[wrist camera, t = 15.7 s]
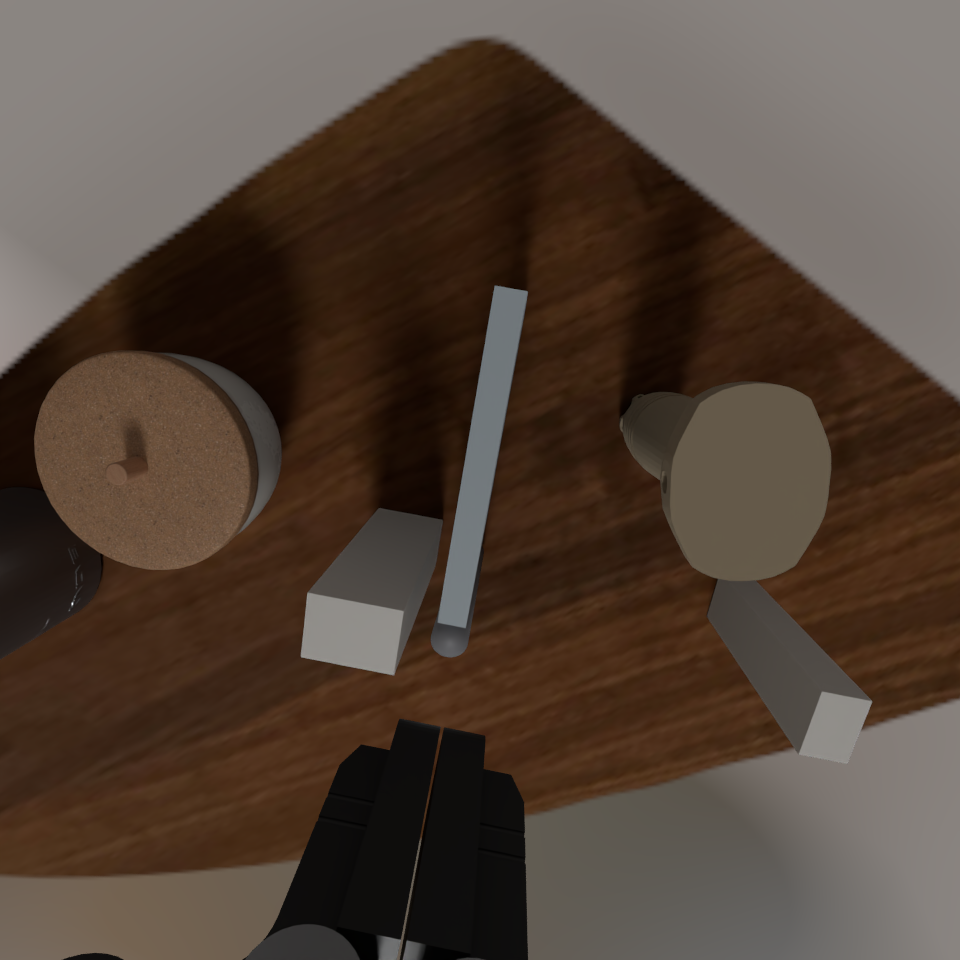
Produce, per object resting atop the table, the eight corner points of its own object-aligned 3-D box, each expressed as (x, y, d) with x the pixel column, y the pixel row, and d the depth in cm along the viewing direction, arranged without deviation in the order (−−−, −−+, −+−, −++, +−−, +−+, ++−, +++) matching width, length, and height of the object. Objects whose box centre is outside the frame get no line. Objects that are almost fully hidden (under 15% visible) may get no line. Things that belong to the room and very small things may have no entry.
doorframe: (372, 553, 36) (300, 656, 24) (379, 507, 35) (307, 592, 23) (738, 622, 35) (847, 763, 23) (753, 578, 34) (872, 701, 23)
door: (481, 566, 35) (463, 666, 24) (455, 561, 35) (426, 659, 24) (529, 308, 31) (533, 292, 20) (500, 303, 31) (489, 284, 20)
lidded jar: (259, 319, 33) (158, 311, 24) (338, 488, 35) (273, 541, 26) (105, 388, 34) (-45, 406, 25) (189, 545, 36) (79, 614, 27)
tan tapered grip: (692, 360, 31) (839, 379, 17) (688, 473, 33) (819, 580, 18) (604, 364, 32) (673, 386, 17) (603, 476, 33) (667, 582, 19)
